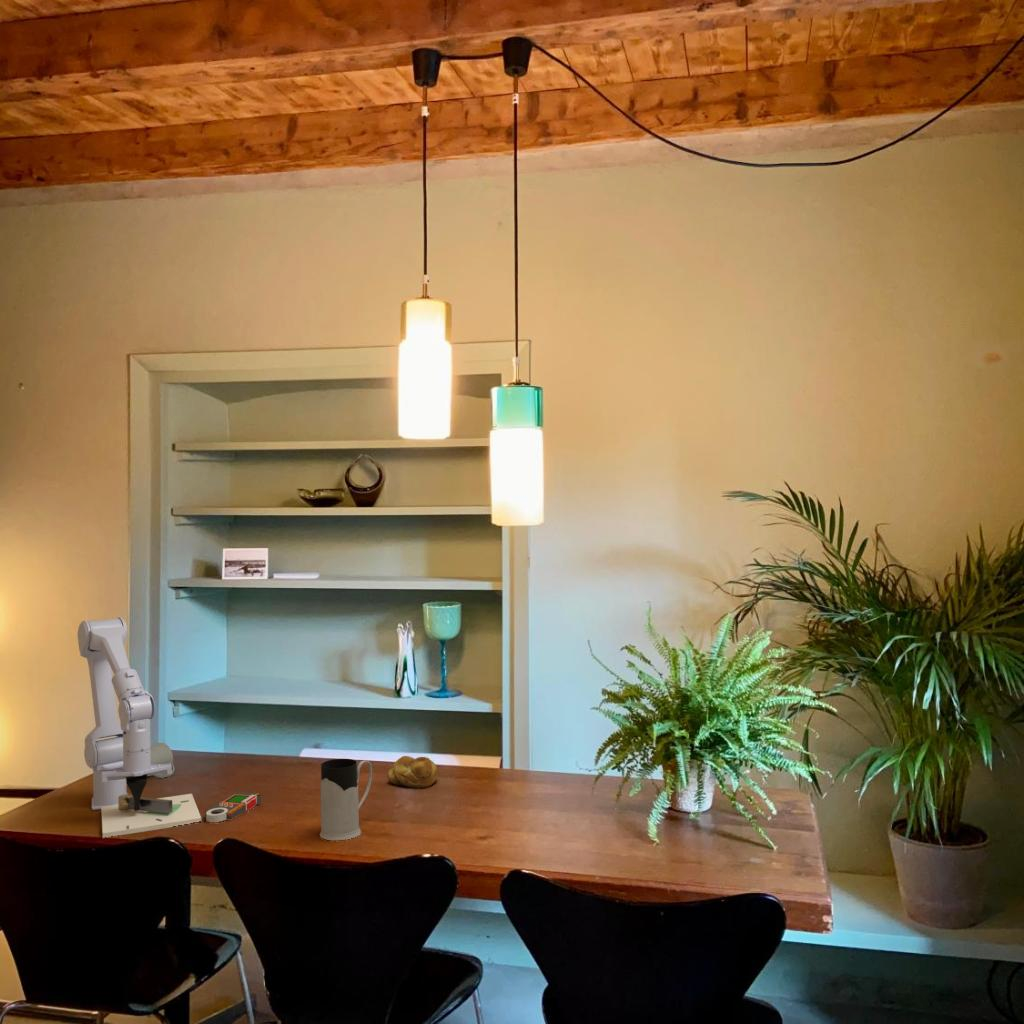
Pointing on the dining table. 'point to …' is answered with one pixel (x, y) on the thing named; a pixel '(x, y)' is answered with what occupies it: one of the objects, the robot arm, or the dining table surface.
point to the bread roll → (413, 772)
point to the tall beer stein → (341, 798)
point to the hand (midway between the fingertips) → (137, 809)
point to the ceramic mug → (161, 757)
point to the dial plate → (149, 817)
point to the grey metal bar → (145, 804)
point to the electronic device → (232, 806)
